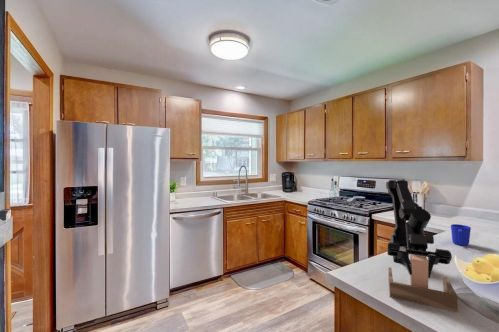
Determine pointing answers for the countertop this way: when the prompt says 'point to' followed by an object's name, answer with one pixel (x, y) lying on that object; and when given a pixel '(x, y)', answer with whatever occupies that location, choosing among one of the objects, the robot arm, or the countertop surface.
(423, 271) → the block
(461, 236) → the mug
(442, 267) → the countertop surface
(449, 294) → the brown u-shaped piece
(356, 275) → the countertop surface
